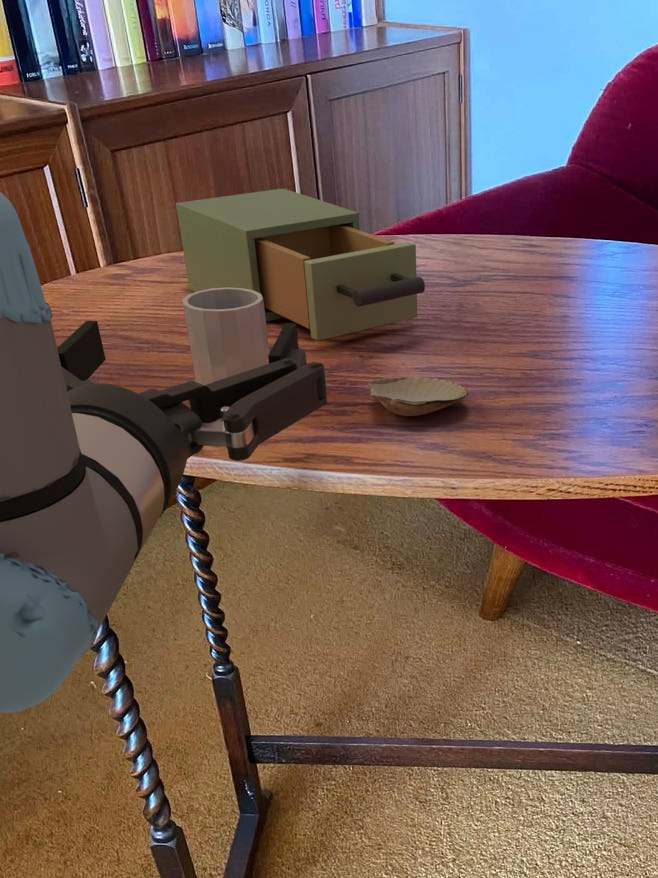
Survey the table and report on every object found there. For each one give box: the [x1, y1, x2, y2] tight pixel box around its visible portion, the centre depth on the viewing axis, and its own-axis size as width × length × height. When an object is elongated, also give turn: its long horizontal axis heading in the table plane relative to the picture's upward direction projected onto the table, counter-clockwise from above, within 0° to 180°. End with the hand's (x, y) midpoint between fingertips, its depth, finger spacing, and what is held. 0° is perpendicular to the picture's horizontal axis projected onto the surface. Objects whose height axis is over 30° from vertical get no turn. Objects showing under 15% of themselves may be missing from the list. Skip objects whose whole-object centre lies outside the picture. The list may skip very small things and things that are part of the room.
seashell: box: [367, 376, 469, 417], centre depth 76 cm, size 8×3×8 cm
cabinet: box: [175, 187, 361, 323], centre depth 99 cm, size 15×13×9 cm
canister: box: [182, 287, 270, 385], centre depth 76 cm, size 6×6×8 cm
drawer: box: [254, 224, 426, 342], centre depth 91 cm, size 18×11×7 cm, turn 40°
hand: (194, 341), depth 66 cm, fingers open, 13 cm apart
